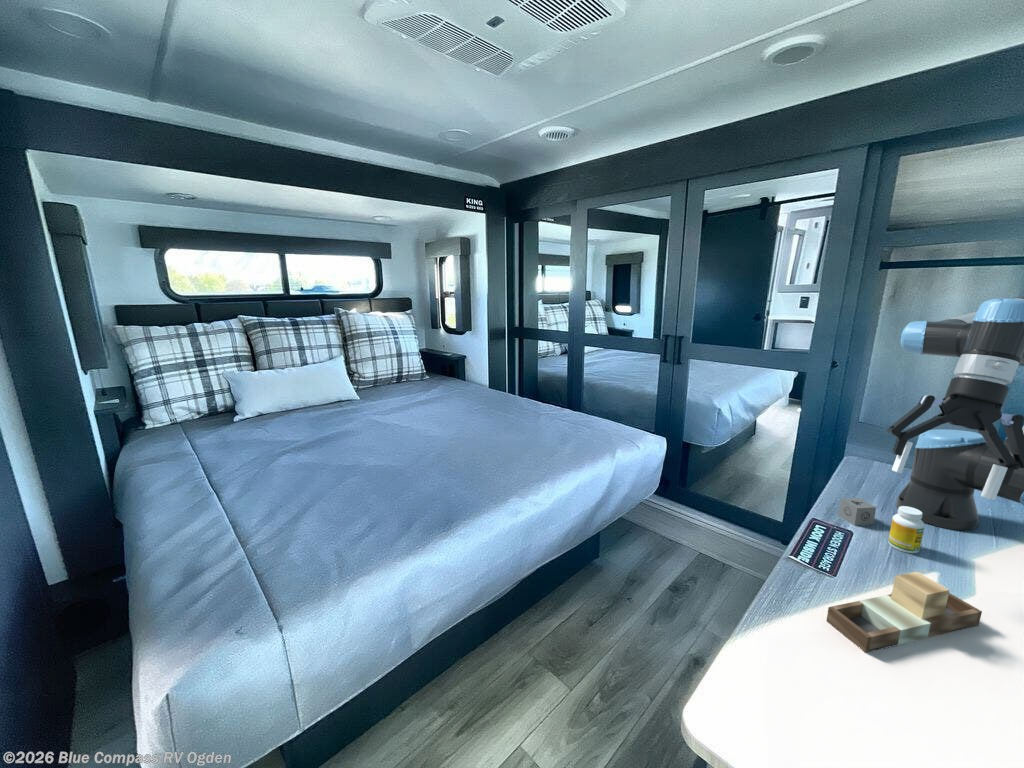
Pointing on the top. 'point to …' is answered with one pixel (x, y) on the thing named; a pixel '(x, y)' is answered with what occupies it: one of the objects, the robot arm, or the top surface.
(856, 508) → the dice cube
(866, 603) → the board
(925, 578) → the oak block
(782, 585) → the top surface
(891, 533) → the supplement bottle
